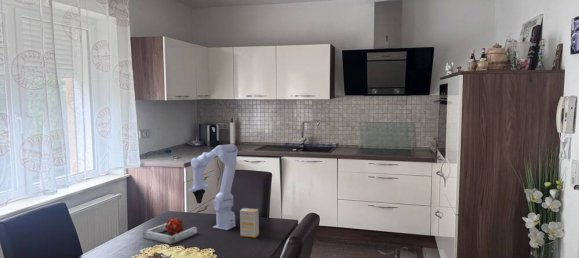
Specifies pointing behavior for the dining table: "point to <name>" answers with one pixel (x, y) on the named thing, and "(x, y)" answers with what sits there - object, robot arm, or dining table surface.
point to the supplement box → (249, 222)
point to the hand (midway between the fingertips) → (199, 203)
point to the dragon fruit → (174, 226)
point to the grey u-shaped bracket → (156, 235)
